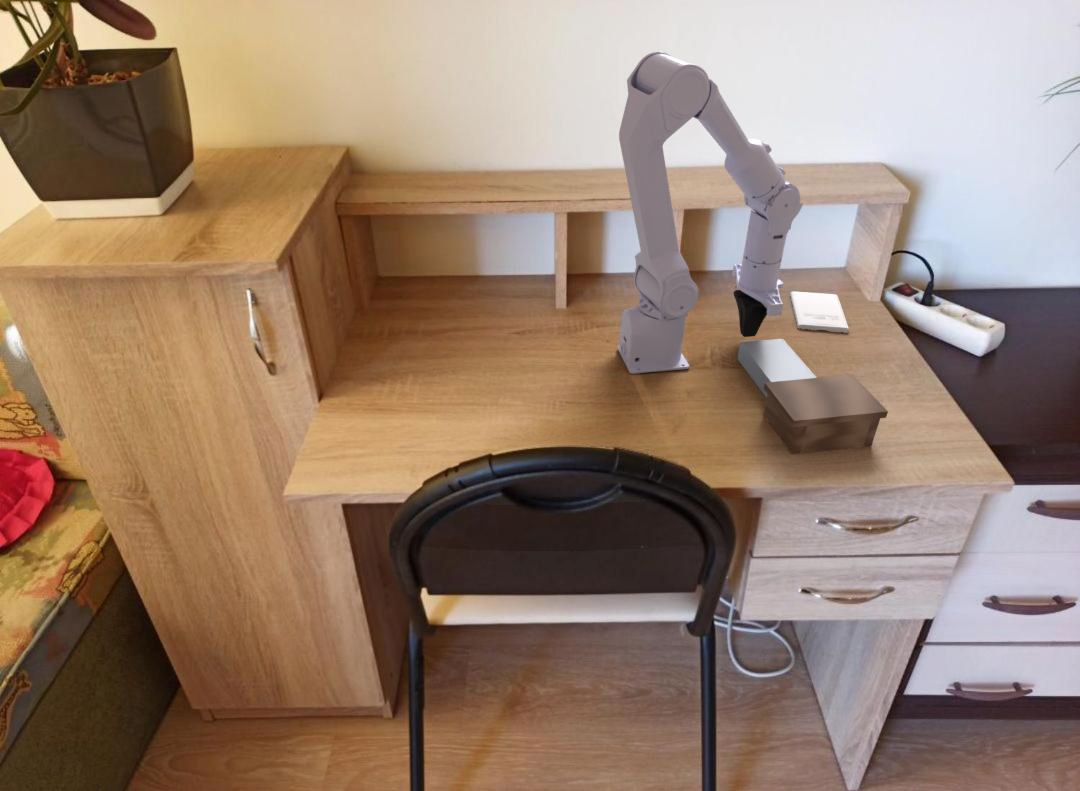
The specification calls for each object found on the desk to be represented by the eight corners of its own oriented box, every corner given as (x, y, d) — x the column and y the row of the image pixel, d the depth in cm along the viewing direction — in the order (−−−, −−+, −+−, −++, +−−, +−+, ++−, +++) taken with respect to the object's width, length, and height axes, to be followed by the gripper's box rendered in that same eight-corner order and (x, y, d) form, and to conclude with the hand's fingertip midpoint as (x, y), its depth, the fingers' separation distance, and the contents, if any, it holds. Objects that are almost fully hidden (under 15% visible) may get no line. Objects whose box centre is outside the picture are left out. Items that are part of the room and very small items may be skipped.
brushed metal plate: (775, 409, 108) (778, 391, 106) (737, 358, 119) (740, 342, 117) (820, 404, 109) (825, 387, 107) (779, 354, 120) (782, 338, 118)
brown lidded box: (785, 454, 99) (794, 420, 96) (757, 415, 106) (764, 382, 103) (877, 445, 101) (888, 411, 98) (843, 406, 108) (852, 374, 105)
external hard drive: (835, 302, 137) (847, 336, 127) (789, 299, 138) (796, 331, 128) (837, 294, 136) (849, 327, 126) (790, 290, 137) (798, 323, 127)
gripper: (809, 275, 110) (790, 355, 117) (767, 236, 121) (753, 311, 129) (763, 278, 109) (747, 359, 116) (725, 239, 120) (713, 314, 128)
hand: (747, 334), depth 123 cm, fingers closed
